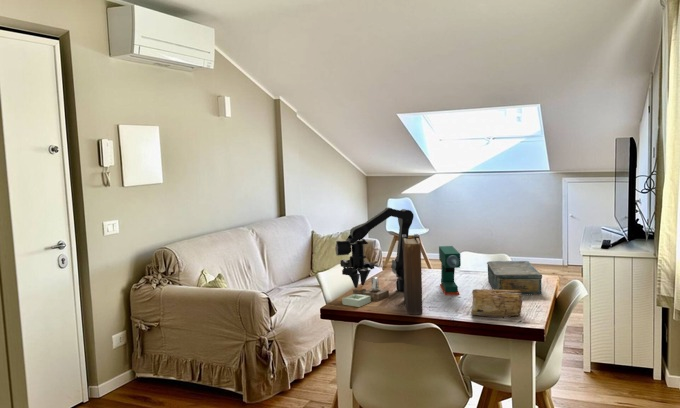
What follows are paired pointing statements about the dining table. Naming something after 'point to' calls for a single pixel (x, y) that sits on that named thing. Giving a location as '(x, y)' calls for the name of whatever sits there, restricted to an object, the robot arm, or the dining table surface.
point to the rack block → (356, 300)
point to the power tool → (449, 269)
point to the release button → (359, 288)
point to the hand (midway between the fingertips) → (359, 286)
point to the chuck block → (376, 294)
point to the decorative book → (412, 274)
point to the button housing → (358, 291)
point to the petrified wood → (496, 302)
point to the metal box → (514, 276)
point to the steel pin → (375, 284)
